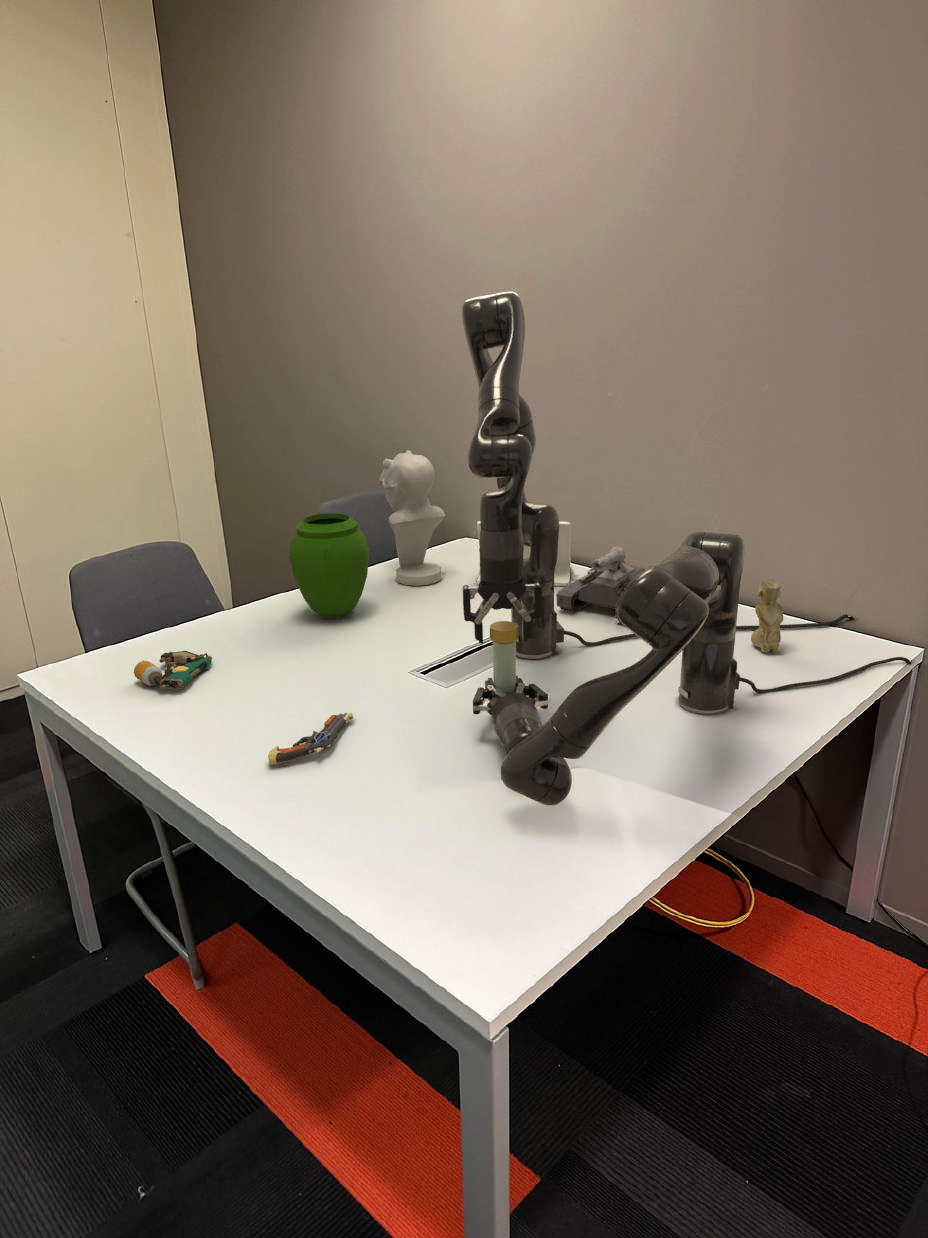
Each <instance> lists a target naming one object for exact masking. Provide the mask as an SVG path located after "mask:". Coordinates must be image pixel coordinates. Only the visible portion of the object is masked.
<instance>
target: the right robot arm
mask: <svg viewBox="0 0 928 1238" xmlns="http://www.w3.org/2000/svg"><path fill="white" fill-rule="evenodd" d="M745 551H746V547H745V541H744V539H743V537H742V536H741V535H738V534H733V533H720V532H709V531H694V532H691V533H689V534H688V535H687V536H686V537H685V538H684V539H683V541H682V542H681V544H680V545H679V547H678V548H677V549H676V550H675V551H674V552H672V553H670V554H669V555H668V556H666V557H665V558H664V559H663V560H662V561H661V562H660V563H659V564H655V565H653V566H651V567H648V568H645V571H643V572H642V573H640V574H639V575H638V576H636V577H635V578H634V579H633V580H632V581H631V582H630V583H629V584H628V585H627V587H626V588H625V589H624V591H623V592H622V594H621V595H620V597H619V600H618V602H617V606H616V614H617V617H618V619H619V620H618V619H617V620H618V621H620V623H621V624H622V625H623V626H624V627H625V628H627V629H628V630H629V631H630V632H632V634H636V635H637V636H638V637H637V638H639V639H640V640H642V641H643V642H644V643H646V644H648V646H650V647H651V650H649V652H648V653H647V654H646V655H645V656H644V657H642V658H641V659H639V660H638V661H637V662H635V663H633V664H631V665H629V666H627V667H625V668H622V669H620V670H617V671H614V672H611V673H608V674H605V675H602V676H599V677H596V678H593V679H590V680H587V681H585V682H584V683H582V684H580V685H579V686H577V687H575V688H574V689H573V690H572V691H571V692H570V693H569V694H568V695H567V696H566V698H564V700H563V701H562V703H561V704H560V705H559V707H558V708H557V709H556V710H555V712H554V713H553V714H552V716H551V717H550V718H549V719H548V721H547V722H545V724H543V722H542V720H541V718H540V714H539V713H538V710H537V708H541V709H542V710H548V709H549V694H548V693H547V692H546V691H544V690H543V689H541V688H540V687H539V686H538V685H537V684H535V683H528V685H526V684H525V682H524V681H523V679H522V678H521V677H519V676H518V675H516V692H512V693H503V692H502V691H501V690H500V689H499V688H495V687H494V682H493V677H487V680H485V681H484V687H482V686H481V687H478V688H477V689H476V692H475V694H474V696H473V699H472V714H473V715H480V714H481V712H487V713H488V714H489V715H490V716H491V718H492V720H493V723H494V727H495V732H496V735H497V737H498V739H499V742H500V743H501V745H502V747H503V750H504V754H505V757H504V759H503V761H502V763H501V768H500V776H501V777H500V778H501V781H502V783H503V784H504V786H505V787H506V788H507V789H509V790H511V791H512V792H515V793H517V794H519V795H521V796H524V797H526V798H527V799H530V800H532V801H535V802H537V803H539V804H541V805H545V806H555V805H559V804H560V803H562V802H563V801H564V800H565V799H567V797H568V795H569V794H570V792H571V788H572V783H573V775H572V771H571V768H570V766H569V763H568V762H567V760H566V759H568V760H577V759H580V758H582V757H583V756H584V755H585V754H586V753H587V752H588V751H589V749H590V748H591V747H592V746H593V744H594V743H595V742H596V741H597V740H598V738H599V737H600V736H601V735H602V734H603V732H604V731H605V730H606V728H607V727H608V726H609V725H610V724H611V722H612V721H613V720H614V719H615V718H616V717H617V716H618V715H619V714H620V712H622V710H623V709H625V707H627V706H628V705H629V704H630V703H631V702H632V701H633V700H634V699H635V698H636V697H637V696H639V694H641V692H643V691H644V690H645V689H646V688H647V687H648V686H649V685H650V684H651V683H652V682H653V681H654V680H655V679H656V678H657V677H658V676H659V675H660V674H661V673H662V672H663V671H664V670H665V669H666V668H667V667H668V666H669V665H670V664H671V663H672V662H673V661H674V660H675V659H676V658H677V656H679V655H680V653H681V664H680V676H679V677H680V678H679V686H678V691H677V692H678V700H677V701H678V704H679V705H680V707H681V708H683V709H685V710H687V711H688V712H692V713H695V714H701V715H717V714H722V713H724V712H726V711H728V710H731V709H732V710H733V709H734V706H735V694H736V691H737V690H739V689H740V682H741V683H745V684H747V685H748V686H750V687H751V689H752V690H753V691H754V692H755V693H758V694H767V693H774V692H780V691H783V690H787V689H791V688H798V687H799V688H800V687H807V686H814V685H821V684H826V683H831V682H835V681H838V680H842V679H844V678H847V677H849V676H852V675H855V674H857V673H860V672H862V671H866V670H867V669H870V668H872V667H875V666H879V665H885V664H888V663H892V662H895V661H902V662H905V663H906V664H908V665H911V664H912V662H911V660H909V658H907V657H905V656H894V657H890V658H886V659H882V660H881V659H880V660H877V661H873V662H870V663H868V664H865V665H863V666H860V667H858V668H855V669H853V670H849V671H847V672H844V673H842V674H839V675H836V676H832V677H829V678H824V679H823V678H822V679H818V680H809V681H802V682H795V683H789V684H785V685H781V686H777V687H774V688H768V689H767V688H766V689H761V688H757V687H756V685H755V683H754V682H753V680H750V679H747V678H745V677H741V675H740V674H739V672H737V670H738V661H737V660H736V659H735V658H734V657H735V656H734V655H735V646H736V645H735V644H736V633H737V630H736V626H737V623H738V622H737V621H738V612H739V611H738V609H739V599H740V590H741V582H742V574H743V569H744V563H745V557H746V556H745V554H746V552H745ZM718 587H720V589H718ZM717 589H718V590H717ZM716 590H717V591H716ZM485 700H488V701H489V702H487V703H486V701H485Z"/></svg>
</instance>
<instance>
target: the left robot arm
mask: <svg viewBox="0 0 928 1238" xmlns="http://www.w3.org/2000/svg"><path fill="white" fill-rule="evenodd" d="M461 319H462V325H463V330H464V335H465V339H466V343H467V347H468V350H469V351H468V352H469V354H470V358H471V361H472V366H473V370H474V373H475V377H476V382H477V386H478V397H477V398H478V401H477V402H478V410H477V411H478V412H477V413H478V418H477V424H476V429H475V431H474V433H473V435H472V436H473V437H472V438H471V442H470V445H469V447H468V452H467V464H468V468H469V470H470V471H471V473H472V474H473V475H474V476H475V477H477V478H479V479H496V484H497V489H494V490H490V491H487V492H484V493H483V494H482V495H481V497H480V500H479V518H480V519H479V521H480V526H481V529H480V539H479V538H478V544H479V545H478V546H479V547H478V551H479V552H478V553H479V575H480V583H479V584H478V585H476V586H469V585H468V584H464V585H463V586H462V606H463V607H462V609H463V619H464V621H465V622H471V623H473V624H474V625H473V629H474V638H475V641H478V644H484V625H483V624H484V623H483V620H484V619H485V617H486V616H487V615H488V614H489V613H490V611H491V609H493V610H494V611H495V610H496V611H498V610H503V609H505V610H510V615H511V617H510V618H511V621H510V622H514V623H516V624H517V625H518V630H519V637H518V639H517V640H516V658H517V657H518V658H521V659H525V660H526V659H527V660H540V659H545V658H548V657H550V656H552V655H557V654H558V653H557V650H558V649H557V648H558V647H557V645H558V644H562V643H565V636H569V637H573V638H574V639H576V640H578V641H579V642H580V643H581V644H582V645H584V646H587V647H596V646H601V645H605V644H607V643H611V642H615V641H622V640H626V639H627V640H628V639H633V638H639V637H638V636H637V635H636V634H634V633H629V634H623V635H622V634H621V635H617V636H612V637H608V638H605V639H601V640H598V641H586V640H585V639H584V638H583V637H582V636H581V635H580V634H578V633H576V632H573V631H569V630H565V628H564V627H563V626H562V624H561V623H560V622H559V621H558V613H557V612H556V611H555V586H554V572H555V567H556V563H557V556H558V539H559V522H560V519H559V518H560V517H559V514H558V511H557V509H556V508H555V507H554V506H553V505H551V504H547V503H541V502H540V503H539V502H533V501H529V500H528V499H527V497H526V494H525V486H526V481H527V478H528V475H529V473H530V468H531V465H532V461H533V454H534V452H535V448H536V444H537V443H536V442H537V437H536V430H535V426H534V419H533V413H532V410H531V407H530V406H529V404H528V403H527V401H526V400H525V399H524V397H522V396H521V394H520V378H521V371H522V363H523V356H524V347H525V338H526V319H525V311H524V306H523V303H522V300H521V298H520V296H519V295H518V293H516V292H514V291H503V292H498V293H492V294H488V295H482V296H477V297H473V298H472V297H471V298H469V299H466V300H465V301H464V302H463V304H462V307H461ZM496 348H502V349H501V351H500V352H499V354H498V355H497V357H496V359H495V360H494V361H493V359H492V357H491V354H490V352H489V350H491V349H496ZM524 546H528V547H530V557H529V558H526V559H523V552H524ZM477 594H478V595H479V596H480V597H481V599H482V601H481V602H480V604H479V605H478V608H477V610H476V611H475V612H473V611H472V609H471V605H472V604H471V600H474V599H475V596H476V595H477ZM847 614H848V613H844V614H842V615H840V616H839V617H837V618H836V619H833V620H830V621H824V622H823V621H822V622H810V623H809V622H808V623H792V624H780V630H782V629H783V630H784V629H800V628H801V629H803V628H817V627H818V628H820V627H828V626H833V625H836V624H838V623H840V622H841V621H843V620H845V619H849V620H850V621H855V618H854V616H853V615H851V617H848V615H847ZM758 628H759V624H757V625H736V631H739V630H757V629H758Z"/></svg>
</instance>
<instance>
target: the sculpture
mask: <svg viewBox="0 0 928 1238" xmlns="http://www.w3.org/2000/svg"><path fill="white" fill-rule="evenodd" d="M757 582H758V584H759V585H758V586H759V587H758V591H757V592H758V593H757V597H758V598H759V600H760V604H757V605H755V607H754V608H755V609H754V610H755V611H754V612H755V614H756V616H757V618H758V625H759V628H758V629H754V631H753V632H752V633H751V636H750V641H751V643H752V645H753V646H754V647H757V648H760V651H761V653H769V652H770V651H771V652H778V651H779V650H780V643H781V641H782V637H781V636H782V634H781V629H780V625H782V623H783V622H784V609H783V606H782V605H781V603H778V599H779V598H780V597H781V595H782V591H781V589H782V585H781V583H779V582H778V581H776V580H774V579H771V580H770V579H769V580H758V581H757Z"/></svg>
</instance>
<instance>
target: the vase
mask: <svg viewBox="0 0 928 1238" xmlns="http://www.w3.org/2000/svg"><path fill="white" fill-rule="evenodd" d="M358 524H359V523H358V521H356V520H355V519H353V518H352V517H350V516H349V515H347V514H344V513H335V512H334V513H333V512H331V513H320V514H313V515H310V516H307V517H305V518H303V519H302V520H301V521H300V522H299V523H298V524H297V525H296V526H295V532H296V533H295V534H294V536H293V537H292V538H291V540H290V542H289V551H288V559H289V564H290V566H291V567H290V568H291V570H292V575H293V578H294V581H295V584H296V586H297V587H298V589H299V591H300V593H301V596H302V597H303V600H304V601H305V603H306V604H307V605H308V607H309V608H310V609H311V611H312V612H314V613H315V614H316V615H317V616H318V617H320V618H324V619H326V620H327V619H329V620H336V619H341V618H345V617H347V616H349V615H350V614H351V613H352V612H353V611H354V610H355V608H356V607H357V605H358V604H359V601H360V599H361V597H362V595H363V592H364V588H365V586H366V581H367V578H368V570H369V561H370V560H369V559H370V548H369V545H368V541H367V537H366V535H365V534H364V533H363V532H362V531H361V530H360V529H359V527H358Z"/></svg>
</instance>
